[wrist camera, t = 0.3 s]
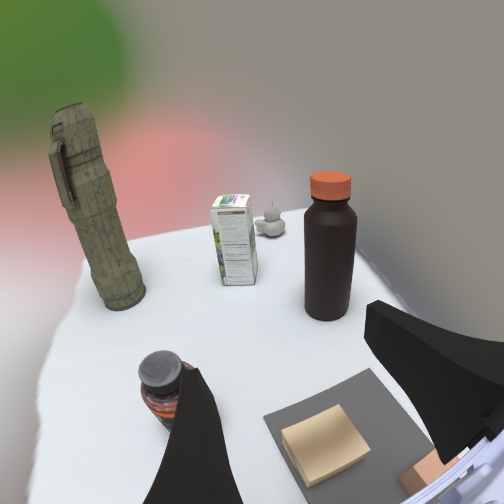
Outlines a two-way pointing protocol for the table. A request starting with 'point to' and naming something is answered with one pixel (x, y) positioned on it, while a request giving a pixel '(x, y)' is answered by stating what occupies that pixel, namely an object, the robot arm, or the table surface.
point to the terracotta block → (424, 472)
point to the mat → (374, 434)
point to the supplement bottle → (162, 384)
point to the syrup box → (235, 239)
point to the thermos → (93, 206)
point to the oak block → (324, 446)
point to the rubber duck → (271, 222)
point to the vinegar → (329, 245)
